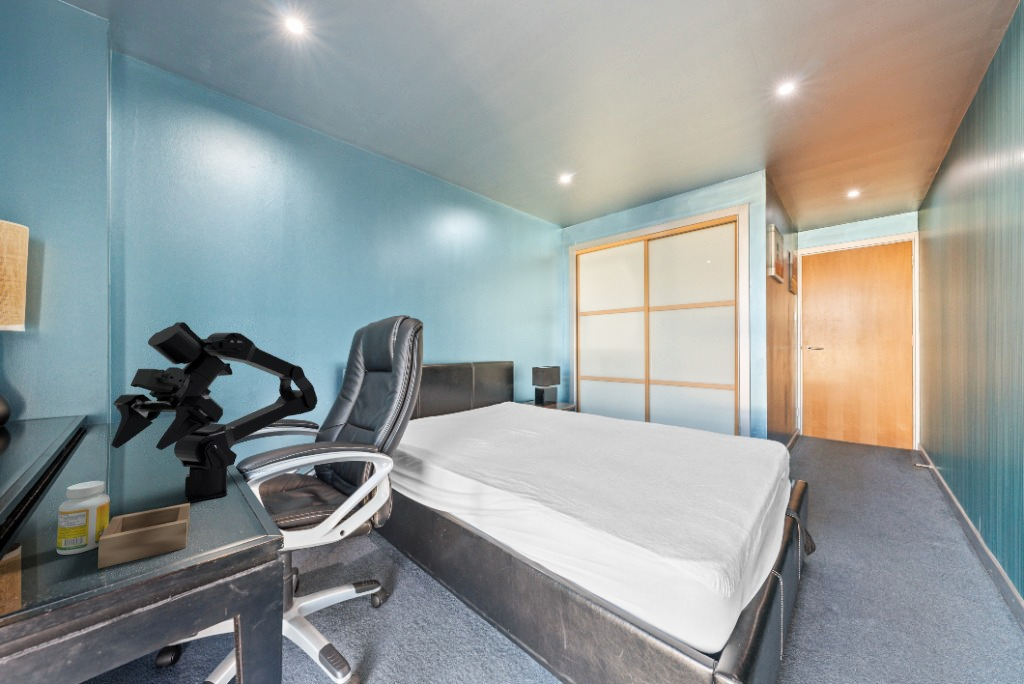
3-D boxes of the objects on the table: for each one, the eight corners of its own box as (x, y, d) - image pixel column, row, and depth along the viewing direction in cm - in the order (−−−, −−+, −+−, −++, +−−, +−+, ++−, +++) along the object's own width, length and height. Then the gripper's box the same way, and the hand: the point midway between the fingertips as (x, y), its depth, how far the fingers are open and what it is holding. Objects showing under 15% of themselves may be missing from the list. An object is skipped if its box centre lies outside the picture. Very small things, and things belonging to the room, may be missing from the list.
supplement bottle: (64, 559, 56) (67, 493, 56) (50, 551, 58) (52, 487, 58) (115, 542, 61) (117, 482, 61) (99, 535, 63) (101, 477, 63)
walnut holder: (189, 525, 66) (190, 502, 67) (185, 547, 59) (186, 521, 59) (112, 542, 61) (113, 516, 61) (97, 568, 53) (98, 539, 53)
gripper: (124, 352, 74) (48, 421, 63) (209, 352, 71) (145, 424, 60) (166, 387, 81) (106, 454, 71) (244, 388, 79) (194, 458, 68)
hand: (136, 447), depth 67 cm, fingers open, 9 cm apart
